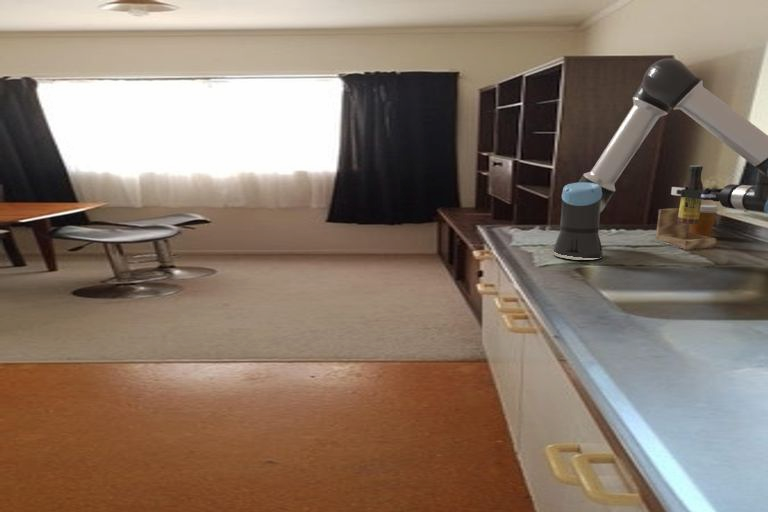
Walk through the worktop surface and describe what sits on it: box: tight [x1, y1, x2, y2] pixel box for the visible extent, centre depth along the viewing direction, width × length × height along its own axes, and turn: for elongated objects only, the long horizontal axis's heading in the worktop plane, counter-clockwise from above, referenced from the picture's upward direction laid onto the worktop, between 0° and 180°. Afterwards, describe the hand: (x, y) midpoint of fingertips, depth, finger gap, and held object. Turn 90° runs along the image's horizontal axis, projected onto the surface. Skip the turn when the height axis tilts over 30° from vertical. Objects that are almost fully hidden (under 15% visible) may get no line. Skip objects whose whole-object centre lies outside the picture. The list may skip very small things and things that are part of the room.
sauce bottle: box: [678, 165, 704, 225], centre depth 171 cm, size 6×6×20 cm
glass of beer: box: [689, 203, 719, 237], centre depth 186 cm, size 10×10×12 cm
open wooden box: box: [655, 207, 717, 250], centre depth 174 cm, size 13×13×12 cm
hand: (680, 190), depth 175 cm, fingers closed on sauce bottle, 6 cm apart
